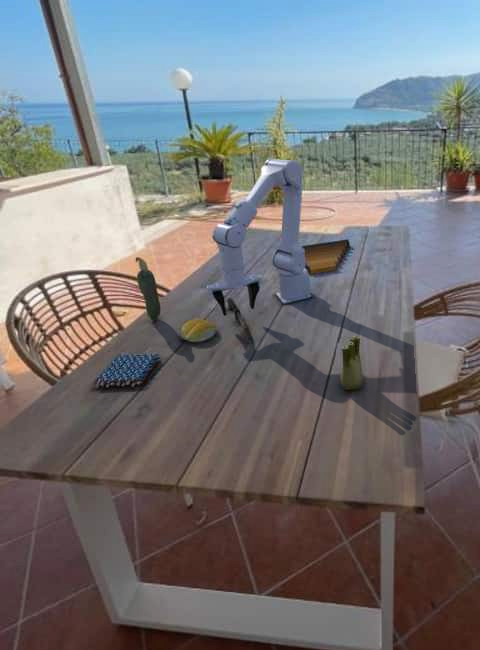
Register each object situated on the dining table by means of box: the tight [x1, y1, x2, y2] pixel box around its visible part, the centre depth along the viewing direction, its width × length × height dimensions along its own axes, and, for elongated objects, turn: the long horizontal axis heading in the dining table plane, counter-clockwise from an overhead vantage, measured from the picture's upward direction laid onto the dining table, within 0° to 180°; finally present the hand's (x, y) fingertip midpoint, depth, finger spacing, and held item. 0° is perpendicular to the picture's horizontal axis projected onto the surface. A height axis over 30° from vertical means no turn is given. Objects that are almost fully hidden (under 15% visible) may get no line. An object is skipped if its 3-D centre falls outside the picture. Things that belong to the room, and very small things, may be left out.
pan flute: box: [301, 238, 351, 275], centre depth 158 cm, size 25×3×25 cm
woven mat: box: [93, 352, 161, 389], centre depth 91 cm, size 10×11×2 cm
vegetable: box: [135, 256, 161, 322], centre depth 109 cm, size 4×4×20 cm
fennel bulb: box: [339, 335, 364, 391], centre depth 85 cm, size 6×5×12 cm
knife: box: [227, 297, 252, 342], centre depth 111 cm, size 23×2×5 cm, turn 30°
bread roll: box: [180, 318, 217, 343], centre depth 105 cm, size 8×9×4 cm
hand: (238, 310), depth 110 cm, fingers open, 7 cm apart
